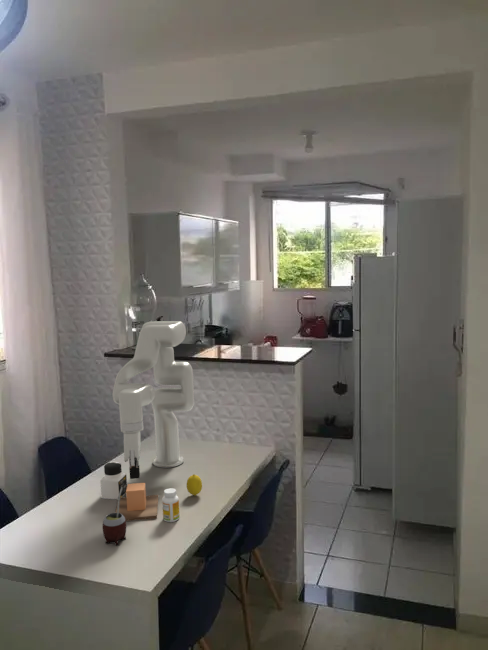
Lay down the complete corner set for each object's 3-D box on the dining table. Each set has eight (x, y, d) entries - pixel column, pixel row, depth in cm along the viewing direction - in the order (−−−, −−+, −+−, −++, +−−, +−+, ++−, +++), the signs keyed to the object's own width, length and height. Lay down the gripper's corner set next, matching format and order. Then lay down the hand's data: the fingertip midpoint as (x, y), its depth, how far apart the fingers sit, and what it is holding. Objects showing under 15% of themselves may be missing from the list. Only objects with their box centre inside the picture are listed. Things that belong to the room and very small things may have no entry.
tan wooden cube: (128, 503, 196) (127, 483, 195) (146, 501, 197) (145, 482, 196) (127, 510, 190) (126, 491, 189) (145, 509, 191) (144, 489, 190)
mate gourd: (106, 549, 168) (102, 501, 166) (101, 537, 176) (98, 491, 173) (130, 543, 171) (127, 496, 169) (125, 531, 178) (122, 486, 176)
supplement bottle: (179, 513, 189) (177, 486, 188) (180, 521, 184) (178, 493, 183) (162, 515, 188) (161, 488, 187) (163, 523, 183) (161, 495, 182)
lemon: (183, 496, 203) (182, 475, 202) (195, 491, 207) (194, 470, 206) (194, 500, 199) (193, 478, 198) (205, 495, 203) (204, 474, 202)
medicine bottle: (119, 499, 201) (117, 467, 200) (101, 498, 203) (98, 466, 201) (127, 491, 208) (125, 460, 207) (109, 490, 210) (107, 459, 208)
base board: (118, 500, 201) (118, 497, 201) (158, 497, 202) (158, 494, 202) (113, 522, 185) (113, 519, 185) (156, 518, 187) (156, 515, 186)
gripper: (122, 419, 196) (125, 470, 199) (118, 433, 182) (121, 487, 184) (144, 418, 197) (147, 468, 200) (141, 431, 183) (144, 485, 185)
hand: (134, 477), depth 192 cm, fingers closed
